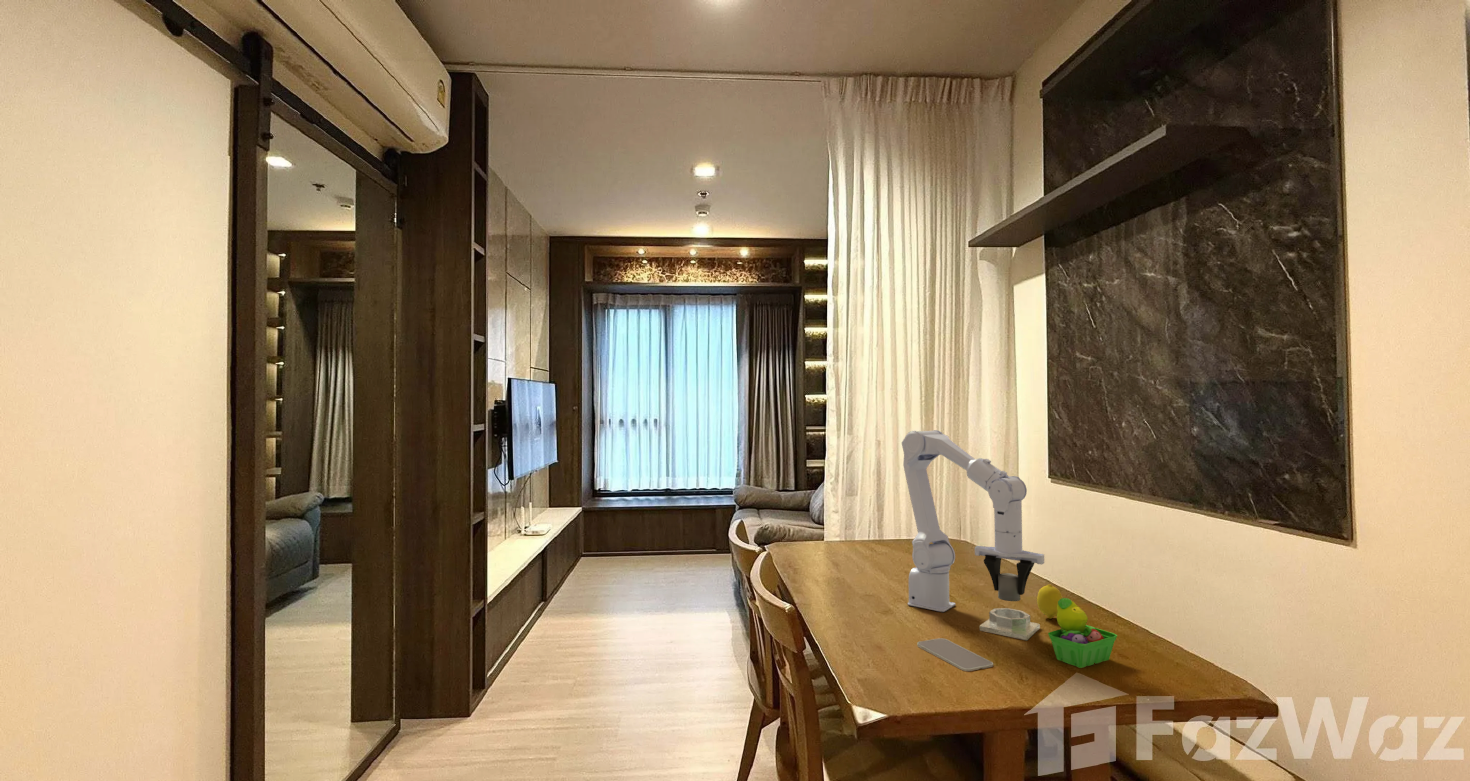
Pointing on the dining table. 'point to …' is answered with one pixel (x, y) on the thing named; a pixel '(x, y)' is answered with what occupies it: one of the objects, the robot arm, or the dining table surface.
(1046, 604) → the lemon
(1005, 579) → the cylindrical peg
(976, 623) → the dining table surface
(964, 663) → the smartphone
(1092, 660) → the fruit basket
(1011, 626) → the octagonal socket plate
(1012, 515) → the robot arm
